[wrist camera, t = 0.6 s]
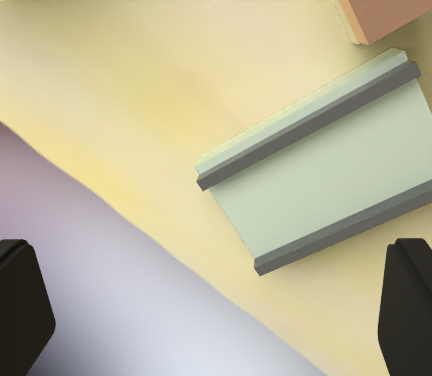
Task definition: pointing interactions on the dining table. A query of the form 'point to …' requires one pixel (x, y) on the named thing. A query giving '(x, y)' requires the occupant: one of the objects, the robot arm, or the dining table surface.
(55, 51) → the dining table surface
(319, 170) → the stand
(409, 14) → the block
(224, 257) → the dining table surface
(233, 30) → the dining table surface
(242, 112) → the dining table surface
